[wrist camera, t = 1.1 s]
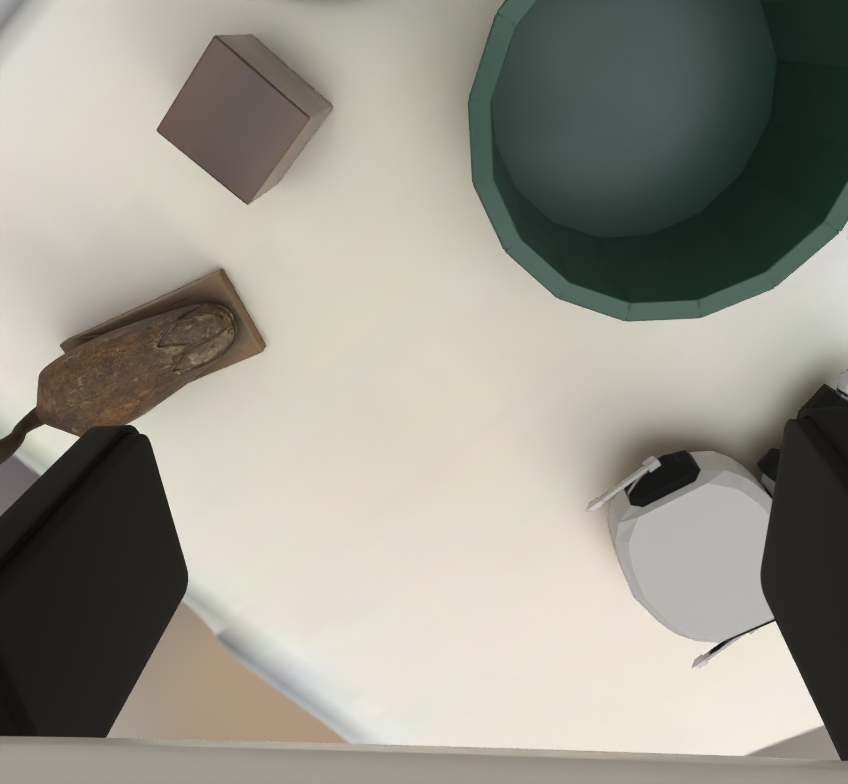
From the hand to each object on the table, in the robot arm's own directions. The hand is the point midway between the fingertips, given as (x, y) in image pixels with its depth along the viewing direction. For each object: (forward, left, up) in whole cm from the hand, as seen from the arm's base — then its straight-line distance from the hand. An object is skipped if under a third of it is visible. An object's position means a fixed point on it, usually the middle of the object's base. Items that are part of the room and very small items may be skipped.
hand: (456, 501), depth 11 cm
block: (-9, -4, -24) cm, 26 cm away
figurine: (-8, -18, -24) cm, 31 cm away
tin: (+2, +7, -24) cm, 25 cm away
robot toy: (+21, -3, -24) cm, 32 cm away
